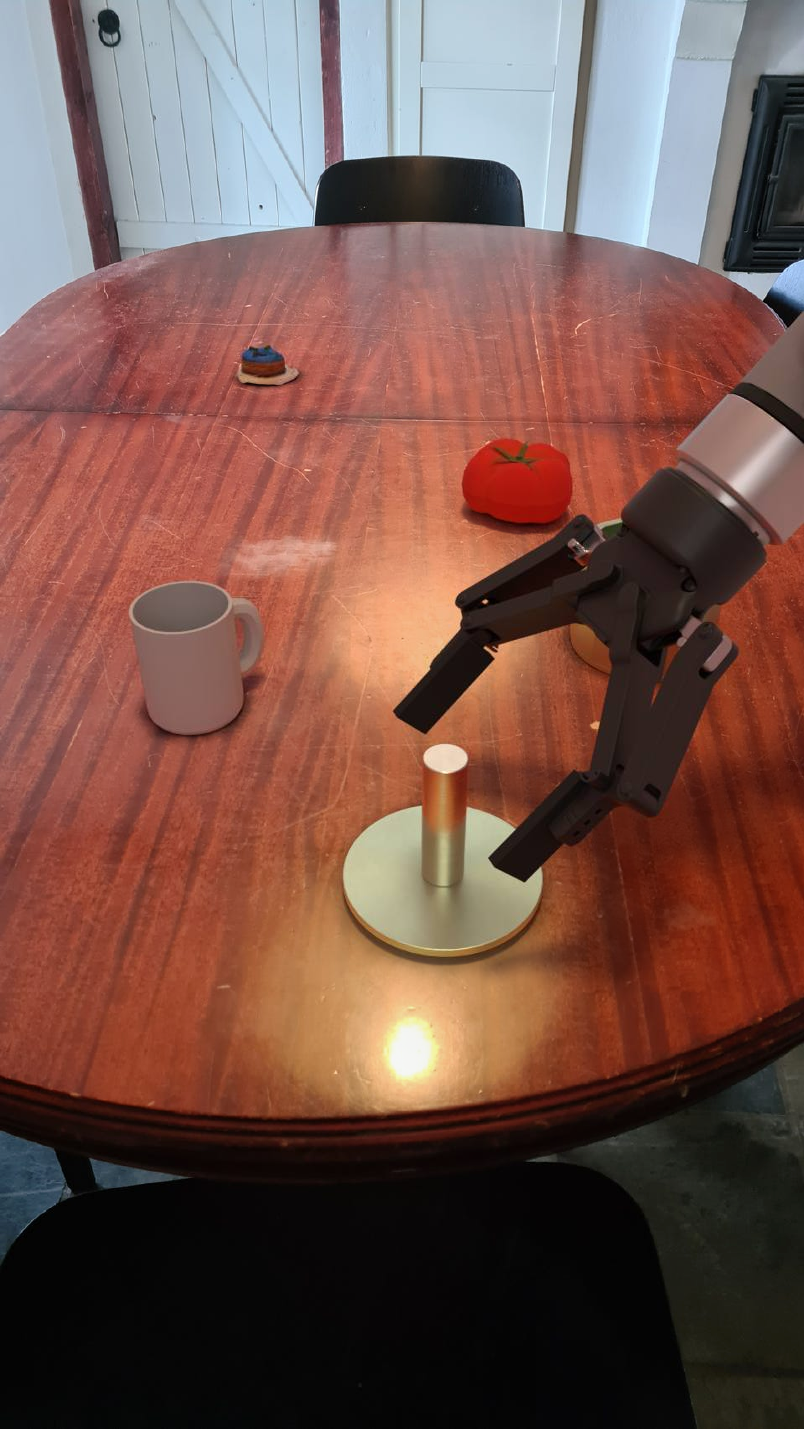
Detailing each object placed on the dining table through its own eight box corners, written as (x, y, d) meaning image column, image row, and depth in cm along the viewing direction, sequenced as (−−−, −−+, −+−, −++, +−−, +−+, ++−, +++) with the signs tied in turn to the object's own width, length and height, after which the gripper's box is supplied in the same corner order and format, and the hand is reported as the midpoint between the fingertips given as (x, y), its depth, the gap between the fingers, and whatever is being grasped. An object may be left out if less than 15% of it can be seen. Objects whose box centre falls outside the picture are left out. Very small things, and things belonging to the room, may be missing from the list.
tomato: (477, 485, 109) (480, 425, 105) (580, 500, 106) (586, 439, 102) (449, 525, 102) (450, 462, 98) (558, 543, 99) (564, 479, 95)
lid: (517, 986, 57) (529, 856, 51) (313, 934, 60) (301, 806, 54) (559, 839, 67) (574, 714, 60) (380, 801, 70) (377, 678, 63)
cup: (130, 704, 78) (110, 603, 73) (242, 656, 84) (230, 559, 78) (178, 750, 74) (160, 646, 69) (293, 697, 79) (285, 596, 74)
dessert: (224, 377, 133) (235, 332, 133) (244, 392, 139) (255, 349, 139) (280, 389, 131) (292, 343, 131) (298, 404, 138) (309, 360, 137)
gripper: (919, 662, 48) (600, 967, 53) (630, 456, 66) (413, 697, 71) (857, 584, 43) (512, 928, 48) (565, 386, 61) (337, 649, 66)
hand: (453, 791), depth 59 cm, fingers open, 13 cm apart
